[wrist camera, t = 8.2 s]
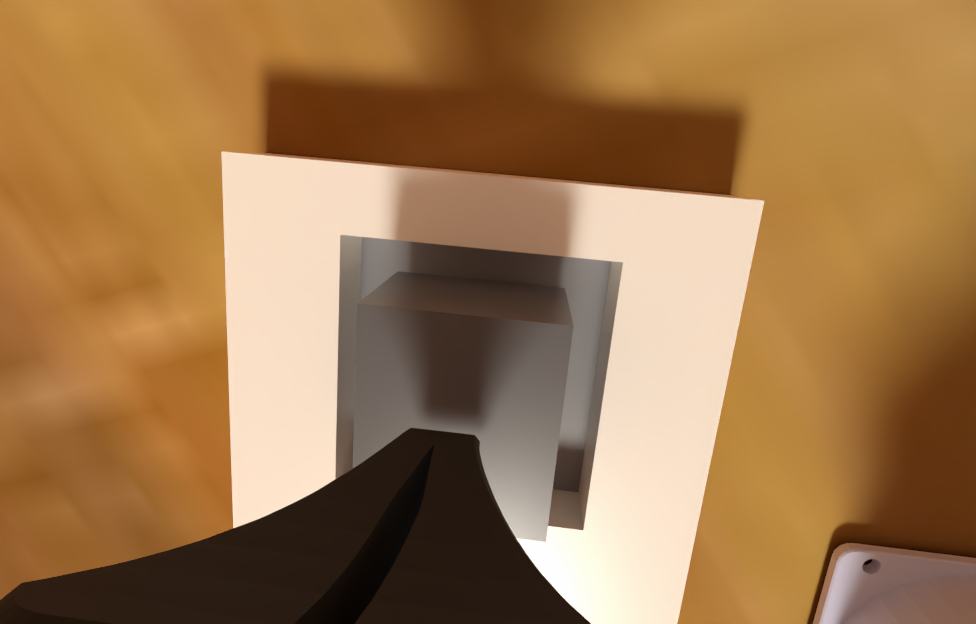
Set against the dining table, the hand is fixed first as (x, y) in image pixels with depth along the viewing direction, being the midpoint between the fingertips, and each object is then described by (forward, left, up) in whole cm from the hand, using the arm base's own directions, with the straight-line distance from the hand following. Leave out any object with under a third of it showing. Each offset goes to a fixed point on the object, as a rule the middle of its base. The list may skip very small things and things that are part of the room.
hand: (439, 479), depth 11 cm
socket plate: (0, +2, -7) cm, 7 cm away
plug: (0, 0, -6) cm, 6 cm away
